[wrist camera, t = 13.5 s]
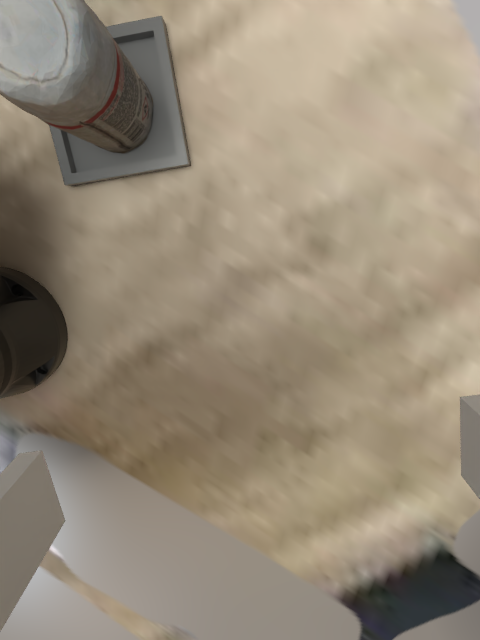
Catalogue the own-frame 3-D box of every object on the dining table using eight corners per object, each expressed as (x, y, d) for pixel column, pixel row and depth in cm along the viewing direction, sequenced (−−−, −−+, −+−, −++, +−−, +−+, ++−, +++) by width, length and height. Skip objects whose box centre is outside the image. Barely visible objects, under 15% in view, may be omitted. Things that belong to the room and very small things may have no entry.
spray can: (102, 42, 40) (-38, -110, 20) (173, 95, 41) (104, -1, 22) (61, 120, 42) (-101, 48, 22) (130, 169, 43) (31, 141, 24)
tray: (73, 186, 44) (64, 185, 42) (38, 50, 41) (27, 42, 39) (191, 165, 43) (188, 163, 41) (165, 24, 40) (161, 15, 38)
